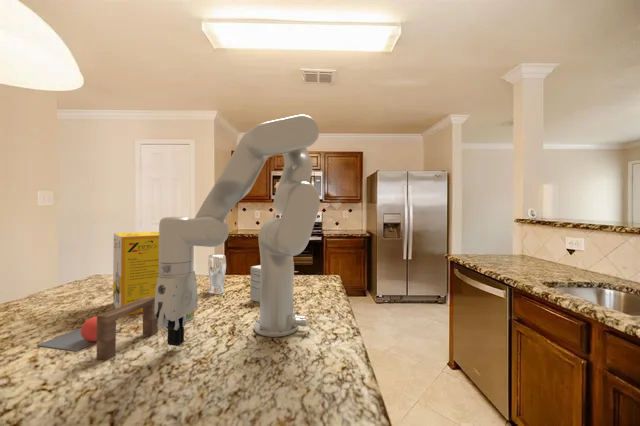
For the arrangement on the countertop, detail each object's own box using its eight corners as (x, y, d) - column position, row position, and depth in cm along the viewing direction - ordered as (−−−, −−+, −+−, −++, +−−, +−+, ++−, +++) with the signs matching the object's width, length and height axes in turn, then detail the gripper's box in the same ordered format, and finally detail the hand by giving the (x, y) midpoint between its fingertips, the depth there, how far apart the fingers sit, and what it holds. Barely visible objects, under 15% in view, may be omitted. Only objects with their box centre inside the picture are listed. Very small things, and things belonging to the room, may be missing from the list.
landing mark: (120, 330, 81) (120, 330, 81) (76, 351, 69) (76, 350, 69) (85, 326, 83) (85, 325, 83) (36, 345, 71) (37, 344, 71)
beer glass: (208, 290, 121) (208, 254, 121) (225, 289, 123) (226, 254, 123) (207, 295, 114) (207, 257, 114) (225, 294, 116) (226, 256, 116)
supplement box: (264, 295, 116) (265, 263, 115) (277, 299, 111) (277, 266, 111) (249, 299, 110) (249, 266, 110) (262, 304, 105) (262, 269, 105)
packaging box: (113, 303, 103) (113, 233, 103) (163, 295, 114) (164, 231, 113) (119, 316, 91) (120, 236, 91) (175, 305, 102) (176, 234, 101)
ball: (108, 308, 77) (93, 320, 78) (86, 317, 71) (70, 329, 72) (120, 328, 77) (104, 339, 78) (98, 338, 71) (82, 350, 72)
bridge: (157, 332, 80) (158, 297, 80) (107, 359, 65) (107, 316, 65) (148, 331, 80) (148, 296, 80) (96, 358, 66) (96, 315, 66)
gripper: (167, 276, 62) (167, 361, 62) (208, 263, 76) (207, 332, 77) (137, 273, 63) (137, 357, 64) (183, 261, 78) (182, 330, 78)
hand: (175, 343), depth 70 cm, fingers closed
